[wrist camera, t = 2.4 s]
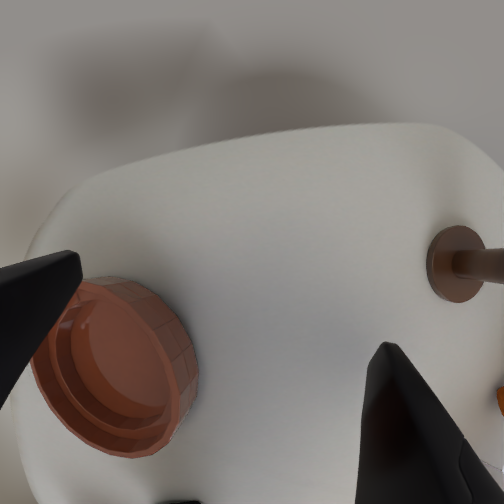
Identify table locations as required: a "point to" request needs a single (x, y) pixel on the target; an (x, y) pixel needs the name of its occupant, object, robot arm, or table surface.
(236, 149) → the table surface
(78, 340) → the bowl
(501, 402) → the carrot
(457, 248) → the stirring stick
